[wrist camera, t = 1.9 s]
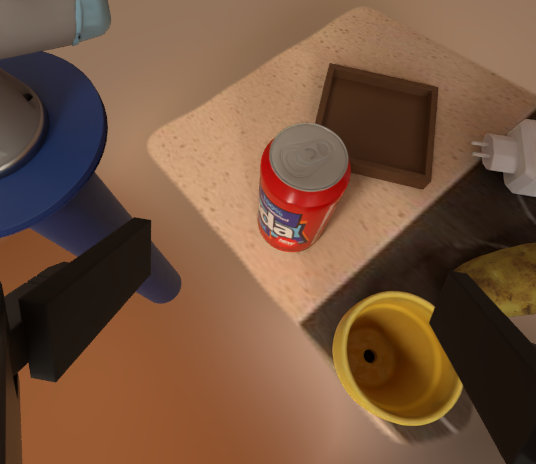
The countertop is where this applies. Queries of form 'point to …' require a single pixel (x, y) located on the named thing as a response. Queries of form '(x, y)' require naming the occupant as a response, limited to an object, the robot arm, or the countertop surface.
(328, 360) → the countertop surface
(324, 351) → the countertop surface
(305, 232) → the soda can
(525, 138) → the charger
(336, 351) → the flower pot
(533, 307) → the potato
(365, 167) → the rectangular tray
